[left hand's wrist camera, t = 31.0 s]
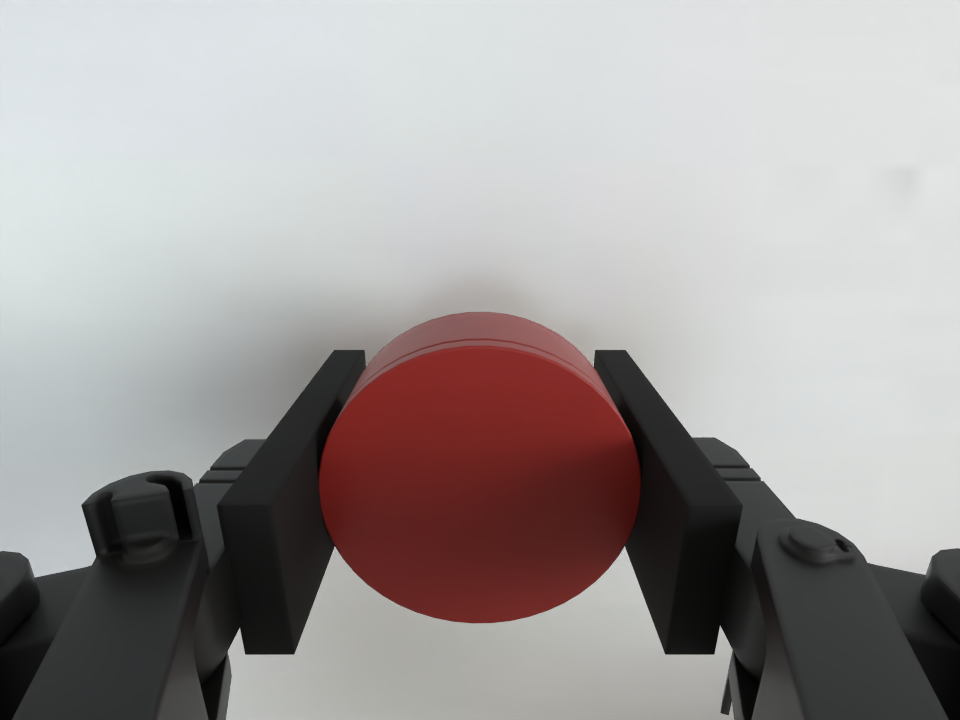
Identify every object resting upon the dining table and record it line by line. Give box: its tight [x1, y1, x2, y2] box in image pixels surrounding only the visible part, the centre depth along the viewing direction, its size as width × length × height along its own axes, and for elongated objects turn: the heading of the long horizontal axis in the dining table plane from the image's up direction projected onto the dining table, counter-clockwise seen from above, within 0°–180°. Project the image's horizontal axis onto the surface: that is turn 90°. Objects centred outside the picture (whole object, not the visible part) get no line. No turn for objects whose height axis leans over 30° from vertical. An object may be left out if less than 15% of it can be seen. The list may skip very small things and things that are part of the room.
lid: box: [318, 312, 641, 623], centre depth 11 cm, size 6×6×2 cm
